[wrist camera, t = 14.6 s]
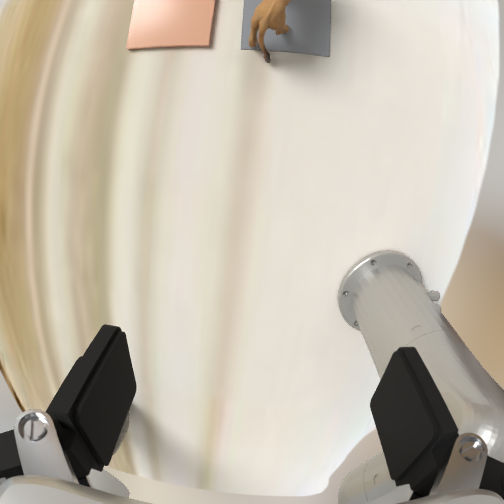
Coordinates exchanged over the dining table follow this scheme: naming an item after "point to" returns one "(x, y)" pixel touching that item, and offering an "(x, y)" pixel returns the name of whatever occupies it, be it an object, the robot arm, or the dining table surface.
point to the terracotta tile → (170, 23)
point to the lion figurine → (268, 22)
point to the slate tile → (294, 28)
